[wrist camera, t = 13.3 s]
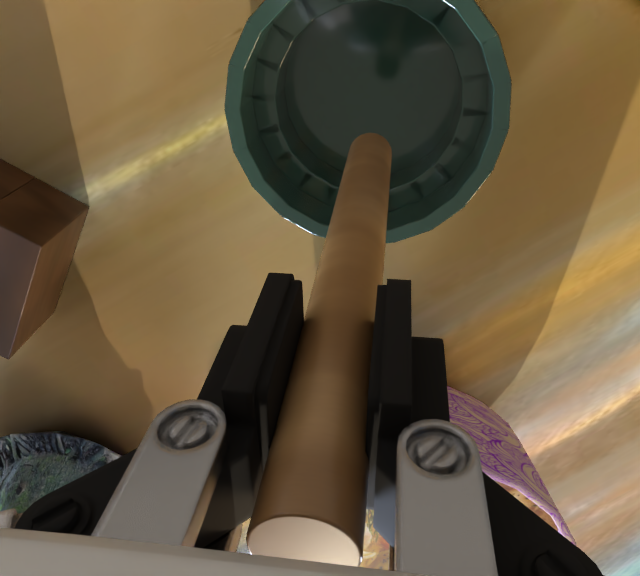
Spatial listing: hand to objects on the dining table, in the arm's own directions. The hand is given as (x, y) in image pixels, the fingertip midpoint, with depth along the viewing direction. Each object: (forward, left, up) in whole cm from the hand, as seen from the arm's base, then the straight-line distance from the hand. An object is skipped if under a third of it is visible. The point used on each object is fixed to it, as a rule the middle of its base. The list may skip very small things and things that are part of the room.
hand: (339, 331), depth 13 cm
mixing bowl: (-1, 0, -23) cm, 23 cm away
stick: (0, 0, -13) cm, 13 cm away
